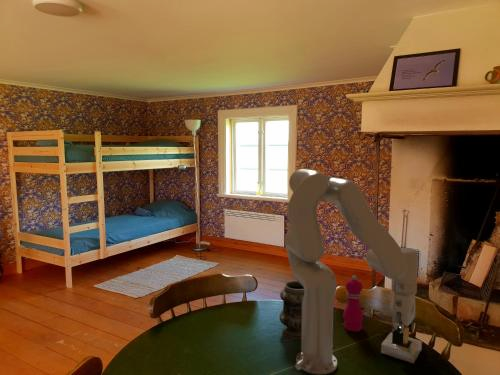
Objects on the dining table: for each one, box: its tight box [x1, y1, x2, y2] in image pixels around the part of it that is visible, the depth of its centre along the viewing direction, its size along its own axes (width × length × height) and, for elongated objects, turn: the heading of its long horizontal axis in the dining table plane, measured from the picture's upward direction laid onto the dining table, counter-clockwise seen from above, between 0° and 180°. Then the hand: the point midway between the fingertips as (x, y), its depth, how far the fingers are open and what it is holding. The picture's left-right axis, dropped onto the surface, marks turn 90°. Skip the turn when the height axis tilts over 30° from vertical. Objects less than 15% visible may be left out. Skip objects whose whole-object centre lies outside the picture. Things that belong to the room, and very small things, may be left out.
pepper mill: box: [342, 274, 364, 332], centre depth 137 cm, size 7×7×20 cm
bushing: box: [395, 325, 410, 348], centre depth 122 cm, size 4×4×8 cm
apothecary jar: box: [279, 280, 304, 340], centre depth 134 cm, size 12×12×18 cm
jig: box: [380, 331, 423, 364], centre depth 122 cm, size 10×10×3 cm
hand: (401, 337), depth 122 cm, fingers open, 9 cm apart
